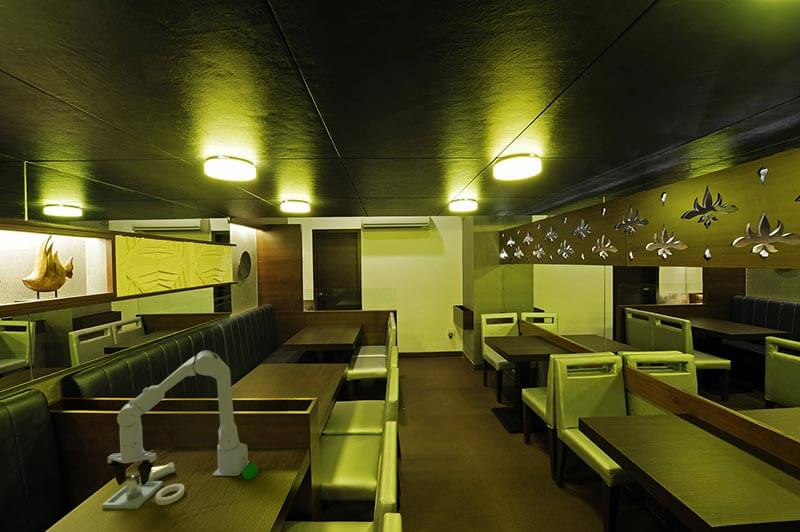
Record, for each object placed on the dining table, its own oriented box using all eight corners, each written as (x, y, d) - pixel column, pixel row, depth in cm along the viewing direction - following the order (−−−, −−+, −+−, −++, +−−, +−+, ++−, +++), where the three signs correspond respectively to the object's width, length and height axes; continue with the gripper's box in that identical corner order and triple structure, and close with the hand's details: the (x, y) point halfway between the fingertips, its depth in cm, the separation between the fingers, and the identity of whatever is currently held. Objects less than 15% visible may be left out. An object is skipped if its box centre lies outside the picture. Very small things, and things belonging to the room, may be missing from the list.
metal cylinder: (144, 492, 113) (144, 473, 113) (131, 500, 109) (131, 480, 109) (136, 490, 114) (135, 470, 114) (123, 498, 110) (122, 478, 110)
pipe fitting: (141, 480, 121) (148, 486, 117) (141, 469, 121) (147, 474, 117) (167, 468, 127) (175, 473, 123) (167, 458, 127) (174, 462, 123)
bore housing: (189, 488, 115) (189, 483, 115) (173, 504, 107) (173, 499, 107) (167, 488, 115) (166, 483, 115) (150, 504, 108) (149, 499, 108)
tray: (162, 485, 117) (162, 481, 117) (137, 508, 106) (137, 504, 106) (131, 485, 117) (130, 481, 117) (102, 509, 106) (102, 504, 106)
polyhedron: (243, 475, 121) (242, 462, 121) (258, 472, 123) (257, 459, 123) (242, 484, 117) (241, 470, 116) (257, 480, 118) (257, 467, 118)
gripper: (162, 435, 115) (164, 474, 115) (119, 435, 115) (121, 475, 116) (146, 446, 108) (148, 489, 108) (101, 447, 108) (103, 489, 109)
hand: (133, 483), depth 112 cm, fingers open, 7 cm apart
